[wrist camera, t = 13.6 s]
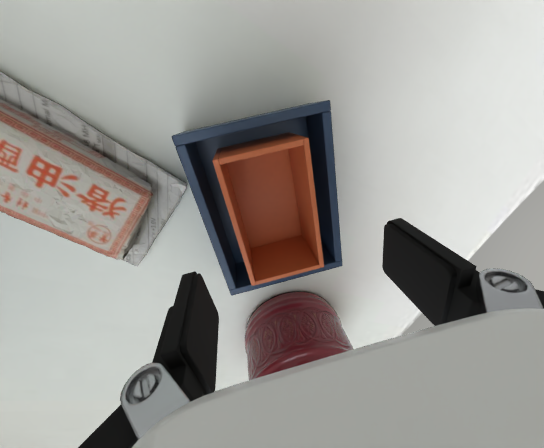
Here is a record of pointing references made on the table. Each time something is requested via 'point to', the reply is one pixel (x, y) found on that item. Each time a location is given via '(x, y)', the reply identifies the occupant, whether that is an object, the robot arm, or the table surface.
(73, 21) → the table surface
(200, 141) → the large bin
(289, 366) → the kitchen canister
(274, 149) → the small bin
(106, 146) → the packaged product
